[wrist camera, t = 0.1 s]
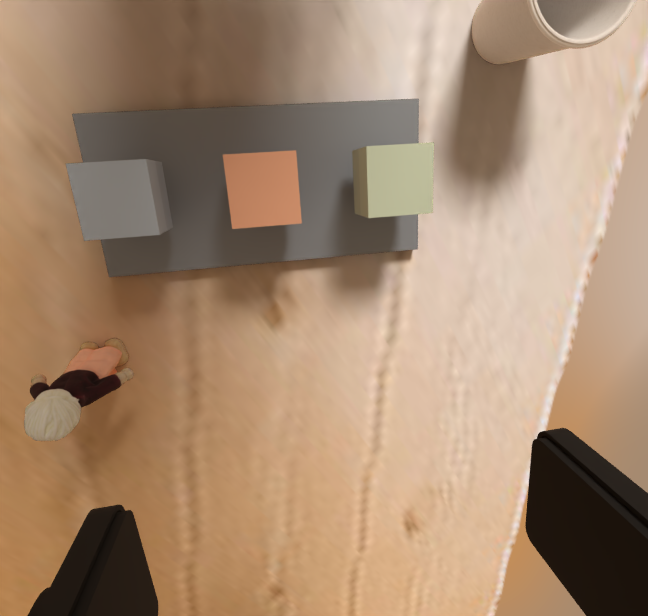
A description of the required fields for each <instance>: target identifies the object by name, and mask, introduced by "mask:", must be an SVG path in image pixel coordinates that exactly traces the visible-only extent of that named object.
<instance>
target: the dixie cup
mask: <svg viewBox="0 0 648 616" xmlns="http://www.w3.org/2000/svg"><path fill="white" fill-rule="evenodd" d="M636 1H637V0H482V1H481V3H480V4H479V6H478V7H477V9H476V11H475V14H474V17H473V21H472V39H473V43H474V47H475V49H476V51H477V52H478V54H479V55H480V56H481V57H482V58H483V59H484V60H486V61H488V62H490V63H493V64H505V63H510V62H515V61H520V60H523V59H526V58H531V57H535V56H539V55H543V54H547V53H551V52H556V51H560V50H564V49H568V48H573V49H579V48H586V47H590V46H593V45H596V44H598V43H600V42H602V41H603V40H605V39H607V38H608V37H609V36H611V35H612V34H613V33H614V32H615V31H616V30H617V29H618V28H619V27H620V26H621V25H622V24H623V23H624V21H625V20H626V19H627V17H628V16H629V14H630V13H631V11H632V9H633V7H634V5H635V3H636Z"/></svg>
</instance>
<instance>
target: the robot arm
mask: <svg viewBox="0 0 648 616" xmlns="http://www.w3.org/2000/svg"><path fill="white" fill-rule="evenodd" d="M526 532H527V534H528V537H529V539H530V541H531V543H532V544H533V546H534V547H535V548H536V550H537V551H538V552H539V554H540V555H541V556H542V558H543V559H544V560H545V561H546V563H547V564H548V565H549V567H550V568H551V569H552V571H553V572H554V573H555V575H556V576H557V577H558V579H559V580H560V581H561V583H562V584H563V585H564V587H565V588H566V589H567V591H568V592H569V593H570V595H571V596H572V597H573V599H574V600H575V601H576V603H577V604H578V605H579V606H580V608H581V609H582V610H583V612H584V613H585V615H586V616H648V493H647V492H645V491H644V490H643V489H642V488H640V487H639V486H638V485H637V484H635V483H634V482H633V481H632V480H630V479H629V478H628V477H627V476H626V475H624V474H623V473H622V472H620V471H619V470H618V469H617V468H616V467H614V466H613V465H612V464H611V463H609V462H608V461H607V460H606V459H604V458H603V457H602V456H600V455H599V454H598V453H597V452H596V451H594V450H593V449H592V448H591V447H589V446H588V445H587V444H586V443H584V442H583V441H582V440H581V439H579V438H578V437H577V436H576V435H574V434H573V433H572V432H571V431H569V430H568V429H566V428H560V429H554V430H548V431H542V432H540V433H539V434H538V436H537V439H535V440H534V441H533V443H532V453H531V465H530V477H529V489H528V501H527V514H526ZM28 616H158V600H157V596H156V592H155V589H154V585H153V582H152V578H151V575H150V571H149V568H148V564H147V561H146V557H145V554H144V550H143V547H142V543H141V539H140V536H139V532H138V529H137V525H136V522H135V518H134V515H133V512H132V511H131V510H127V511H125V510H124V507H123V506H122V505H114V506H109V507H103V508H97V509H92V510H91V511H90V512H89V513H88V515H87V517H86V519H85V521H84V523H83V525H82V527H81V528H80V530H79V532H78V534H77V536H76V538H75V540H74V542H73V544H72V546H71V548H70V550H69V552H68V554H67V556H66V558H65V560H64V561H63V563H62V565H61V567H60V569H59V571H58V573H57V575H56V577H55V579H54V581H53V583H52V585H51V587H49V588H46V589H45V590H44V591H43V592H42V593H41V594H40V595H39V597H38V598H37V600H36V601H35V603H34V605H33V607H32V608H31V610H30V612H29V614H28Z"/></svg>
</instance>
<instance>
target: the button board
mask: <svg viewBox="0 0 648 616" xmlns="http://www.w3.org/2000/svg"><path fill="white" fill-rule="evenodd" d="M72 116H73V120H74V124H75V129H76V133H77V138H78V142H79V146H80V151H81V155H82V160H83V163H85V162H103V161H120V160H137V159H148V160H154V161H159V162H162V166H163V172H164V178H165V184H166V189H167V195H168V201H169V207H170V213H171V218H172V224H173V228H171V229H170V230H168V231H166V232H164V233H162V234H160V235H151V236H139V237H126V238H114V239H101V243H102V248H103V252H104V256H105V261H106V265H107V270H108V274H109V277H117V276H128V275H139V274H150V273H161V272H172V271H183V270H194V269H205V268H216V267H227V266H238V265H249V264H260V263H271V262H282V261H293V260H304V259H315V258H326V257H337V256H348V255H359V254H371V253H382V252H393V251H404V250H415V249H418V214H414V215H401V216H389V217H376V218H367V217H364V216H361V215H358V214H355V208H354V183H353V158H352V151H353V150H356V149H359V148H363V147H366V146H380V145H397V144H414V143H418V119H419V99H399V100H376V101H353V102H331V103H308V104H285V105H262V106H239V107H217V108H194V109H171V110H148V111H125V112H103V113H80V114H72ZM293 150H296V156H297V168H298V181H299V194H300V207H301V219H302V223H301V224H289V225H276V226H264V227H251V228H239V229H232V223H231V215H230V207H229V200H228V192H227V184H226V176H225V169H224V161H223V155H224V154H241V153H258V152H276V151H293Z"/></svg>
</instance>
